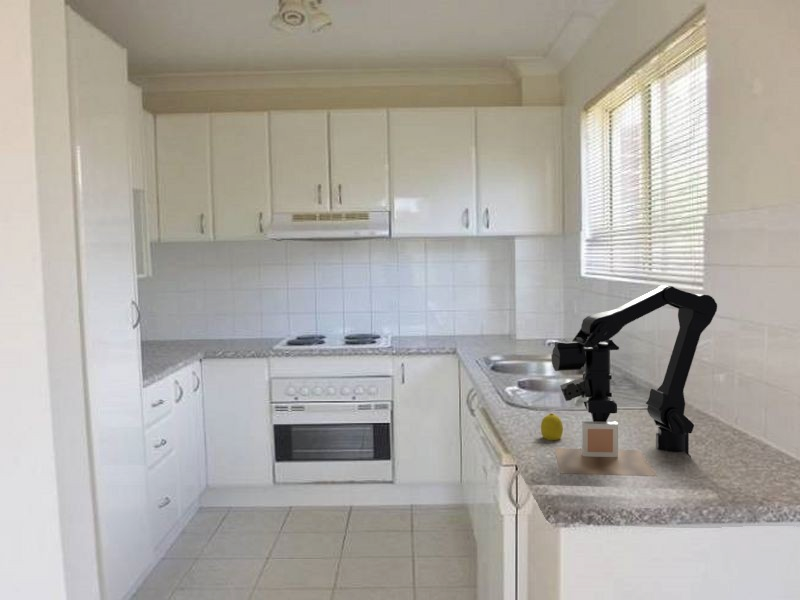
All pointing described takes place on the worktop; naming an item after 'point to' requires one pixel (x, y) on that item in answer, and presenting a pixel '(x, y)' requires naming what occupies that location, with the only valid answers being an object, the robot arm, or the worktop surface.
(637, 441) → the worktop surface
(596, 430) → the block
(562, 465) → the board
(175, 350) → the worktop surface
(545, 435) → the lemon
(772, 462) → the worktop surface
